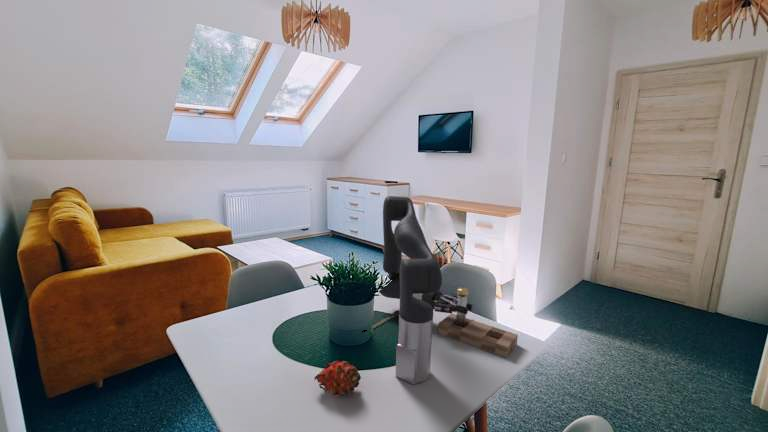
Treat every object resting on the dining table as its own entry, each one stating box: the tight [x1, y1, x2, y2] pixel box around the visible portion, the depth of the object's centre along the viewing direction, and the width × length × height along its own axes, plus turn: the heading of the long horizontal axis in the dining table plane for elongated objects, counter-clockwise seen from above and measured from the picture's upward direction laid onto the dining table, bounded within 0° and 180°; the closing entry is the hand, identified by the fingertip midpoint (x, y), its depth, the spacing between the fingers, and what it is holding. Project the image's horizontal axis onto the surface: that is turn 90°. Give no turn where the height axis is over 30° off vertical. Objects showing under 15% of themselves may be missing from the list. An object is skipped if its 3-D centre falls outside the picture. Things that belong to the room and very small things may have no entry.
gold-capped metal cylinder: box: [455, 286, 469, 328], centre depth 121 cm, size 4×4×16 cm
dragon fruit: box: [314, 360, 362, 397], centre depth 90 cm, size 8×8×12 cm
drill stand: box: [437, 313, 519, 359], centre depth 119 cm, size 10×24×4 cm, turn 53°
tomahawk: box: [370, 309, 400, 334], centre depth 128 cm, size 21×7×1 cm, turn 140°
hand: (469, 309), depth 119 cm, fingers closed on gold-capped metal cylinder, 3 cm apart
